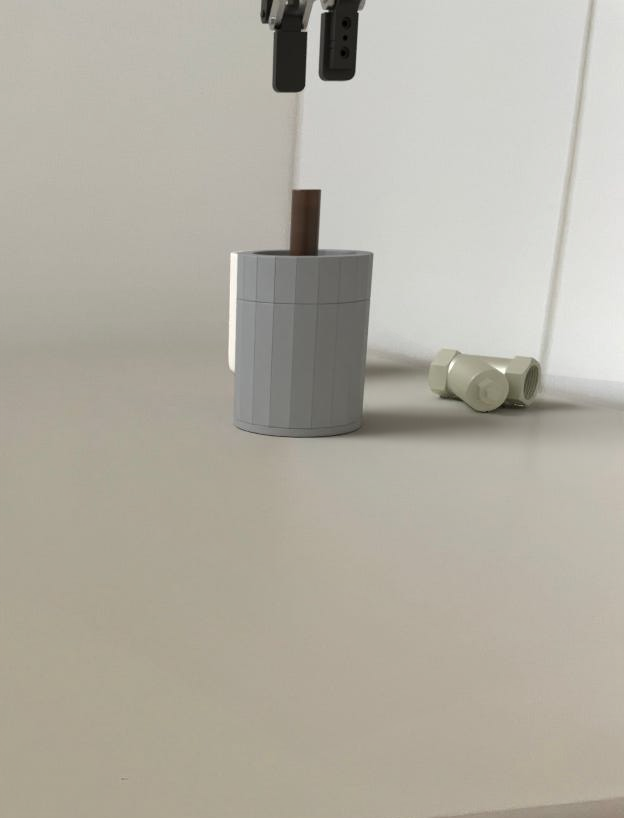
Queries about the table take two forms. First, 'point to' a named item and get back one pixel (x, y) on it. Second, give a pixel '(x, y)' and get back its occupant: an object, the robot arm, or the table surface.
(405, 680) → the table surface
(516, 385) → the pipe fitting
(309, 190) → the hammer
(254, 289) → the cup
